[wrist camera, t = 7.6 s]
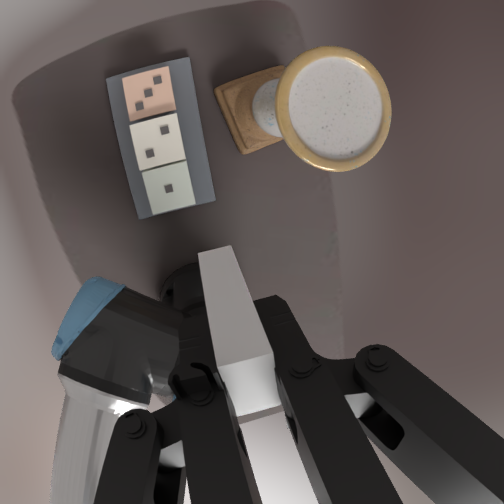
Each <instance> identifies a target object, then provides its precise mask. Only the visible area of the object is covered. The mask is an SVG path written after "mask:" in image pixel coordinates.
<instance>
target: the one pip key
mask: <svg viewBox="0 0 504 504" xmlns="http://www.w3.org/2000/svg"><path fill="white" fill-rule="evenodd" d="M142 176H143V180H144V184H145V187H146V191H147V195H148V199H149V202H150V206H151V209H152V213H153V215H155V214H158V213H162V212H166V211H170V210H174V209H178V208H182V207H186V206H190V205H194V204H196V203H195V197H194V193H193V188H192V184H191V179H190V174H189V170H188V165H187V160H186V159H183V160H179V161H175V162H171V163H167V164H163V165H159V166H155V167H151V168H148V169H144V170H143V172H142Z"/></svg>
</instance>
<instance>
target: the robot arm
mask: <svg viewBox="0 0 504 504" xmlns="http://www.w3.org/2000/svg"><path fill="white" fill-rule="evenodd" d="M198 258H199V263H193V264H189V265H187V266H184V267H182V268H180V269H178V270H177V271H175V272H174V273H173V274H172V275H171V276H170V277H169V278H168V279H167V280H166V282H165V283H164V285H163V288H162V291H161V298H160V301H157V300H155V299H152V298H150V297H148V296H145V295H143V294H140V293H138V292H136V291H134V290H132V289H129V288H127V287H126V285H124V284H122V285H120V284H118V283H115V282H112V281H110V280H107V279H105V278H102V277H92V278H90V279H88V280H87V281H86V282H85V283H84V284H83V285H82V287H81V288H80V290H79V292H78V293H77V295H76V297H75V298H74V300H73V302H72V304H71V305H70V307H69V309H68V311H67V313H66V315H65V317H64V319H63V321H62V324H61V326H60V328H59V331H58V335H57V336H56V339H55V341H54V343H53V346H52V351H51V352H52V355H53V356H54V357H55V359H56V360H58V361H59V360H61V363H60V367H59V370H58V377H59V379H60V381H61V383H62V385H63V387H64V389H65V393H66V395H65V399H64V403H63V408H62V413H61V418H60V423H59V429H58V434H57V441H56V447H55V455H54V462H53V470H52V480H51V493H50V504H183V503H184V494H185V485H186V478H187V481H188V488H189V494H190V499H191V504H262V501H261V497H260V494H259V491H258V487H257V484H256V481H255V478H254V474H253V470H252V467H251V463H250V460H249V456H248V453H247V449H246V445H245V442H244V438H243V434H242V431H241V428H240V426H239V423H238V419H237V416H241V415H245V414H249V413H253V412H257V411H260V410H264V409H268V408H271V407H275V406H278V405H281V403H282V406H283V408H284V411H285V416H286V424H287V429H288V428H289V429H290V431H291V434H292V436H293V439H294V442H295V445H296V447H297V450H298V452H299V455H300V457H301V460H302V463H303V465H304V467H305V470H306V473H307V475H308V478H309V480H310V483H311V485H312V488H313V490H314V493H315V495H316V498H317V500H318V503H319V504H403V503H402V501H401V499H400V497H399V495H398V493H397V491H396V490H395V488H394V486H393V484H392V482H391V480H390V479H389V477H388V475H387V473H386V471H385V469H384V467H383V465H382V464H381V462H380V460H379V458H378V456H377V454H376V453H375V451H374V449H373V447H372V445H371V443H370V442H369V440H368V438H369V439H370V440H371V441H372V442H373V443H374V444H375V445H376V446H377V447H378V448H379V449H380V450H381V451H382V452H383V453H384V454H385V455H386V456H387V457H388V458H389V459H390V460H391V461H392V462H393V463H394V464H395V465H396V466H397V467H398V468H399V469H400V470H401V471H402V472H403V473H404V474H405V475H406V476H407V477H408V478H409V479H410V480H411V481H412V482H413V483H414V484H415V485H416V486H418V488H420V489H421V490H422V491H423V492H424V493H425V494H426V495H427V496H428V497H429V498H430V499H431V500H432V501H433V502H434V503H435V504H504V439H503V438H502V437H501V436H499V435H498V434H497V433H496V432H495V431H493V430H492V429H491V428H490V427H489V426H487V425H486V424H485V423H484V422H482V421H481V420H480V419H479V418H478V417H476V416H475V415H474V414H473V413H471V412H470V411H469V410H468V409H467V408H465V407H464V406H463V405H462V404H460V403H459V402H458V401H457V400H455V399H454V398H453V397H452V396H450V395H449V394H448V393H447V392H445V391H444V390H443V389H442V388H441V387H439V386H438V385H437V384H436V383H434V382H433V381H432V380H431V379H429V378H428V377H427V376H426V375H424V374H423V373H422V372H420V371H419V370H418V369H417V368H416V367H414V366H413V365H411V364H410V363H409V362H408V361H407V360H405V359H404V358H403V357H402V356H400V355H399V354H398V353H397V352H395V351H394V350H393V349H391V348H389V347H387V346H384V345H379V344H376V345H369V346H367V347H364V348H362V349H361V350H360V351H359V352H358V353H357V355H356V357H355V358H351V359H340V360H333V359H327V358H324V357H322V356H320V355H318V354H317V353H315V352H314V351H313V349H312V348H311V346H310V345H309V343H308V341H307V339H306V337H305V335H304V334H303V332H302V330H301V328H300V326H299V324H298V323H297V321H296V320H295V317H294V315H293V313H292V312H291V310H290V308H289V306H288V304H287V302H286V301H285V300H283V299H282V298H280V297H279V296H277V295H274V296H270V297H266V298H262V299H259V300H255V301H252V298H251V296H250V293H249V291H248V288H247V285H246V283H245V280H244V278H243V275H242V273H241V270H240V267H239V265H238V262H237V260H236V257H235V255H234V252H233V249H232V247H231V245H229V246H225V247H221V248H217V249H213V250H209V251H205V252H201V253H198ZM152 393H153V394H157V395H161V396H164V397H168V398H171V399H172V403H170V404H169V405H167V406H165V407H163V408H161V409H159V410H157V411H155V412H153V413H150V412H149V411H148V410H144V409H146V408H148V406H149V403H150V398H151V394H152ZM367 437H368V438H367Z"/></svg>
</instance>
